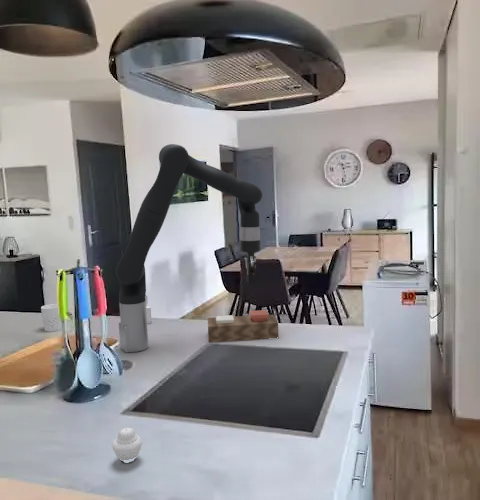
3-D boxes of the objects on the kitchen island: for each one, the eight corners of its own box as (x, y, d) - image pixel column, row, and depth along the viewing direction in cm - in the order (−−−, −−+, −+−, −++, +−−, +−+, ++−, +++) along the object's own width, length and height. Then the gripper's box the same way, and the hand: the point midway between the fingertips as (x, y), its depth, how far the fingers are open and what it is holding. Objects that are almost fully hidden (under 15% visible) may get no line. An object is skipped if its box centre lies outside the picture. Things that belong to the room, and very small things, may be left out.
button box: (208, 342, 176) (207, 326, 175) (208, 332, 188) (207, 317, 187) (278, 338, 178) (278, 322, 177) (273, 329, 190) (273, 314, 189)
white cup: (47, 333, 194) (45, 309, 192) (40, 329, 199) (38, 306, 198) (66, 329, 199) (64, 305, 198) (58, 325, 205) (56, 302, 203)
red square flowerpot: (251, 330, 179) (250, 315, 179) (249, 325, 186) (249, 310, 185) (268, 329, 180) (268, 314, 179) (266, 324, 186) (266, 310, 186)
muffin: (145, 450, 104) (143, 420, 103) (140, 467, 98) (138, 435, 97) (116, 452, 104) (114, 422, 103) (110, 468, 98) (107, 436, 97)
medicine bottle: (131, 321, 207) (129, 294, 205) (147, 319, 210) (146, 292, 208) (135, 325, 201) (133, 298, 199) (151, 323, 203) (150, 295, 202)
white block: (216, 335, 179) (216, 320, 178) (216, 330, 185) (215, 316, 184) (234, 334, 179) (233, 319, 178) (233, 329, 186) (232, 315, 185)
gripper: (262, 240, 173) (262, 287, 175) (258, 236, 186) (258, 280, 188) (241, 241, 172) (242, 288, 175) (239, 237, 186) (239, 281, 188)
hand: (250, 284), depth 182 cm, fingers closed
